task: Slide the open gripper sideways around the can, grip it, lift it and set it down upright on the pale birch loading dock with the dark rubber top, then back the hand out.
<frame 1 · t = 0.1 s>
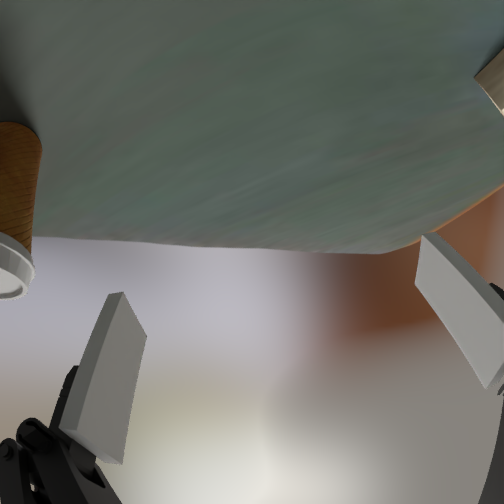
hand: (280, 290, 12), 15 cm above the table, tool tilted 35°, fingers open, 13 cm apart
disposable coffee cup: (12, 146, 18), on the table
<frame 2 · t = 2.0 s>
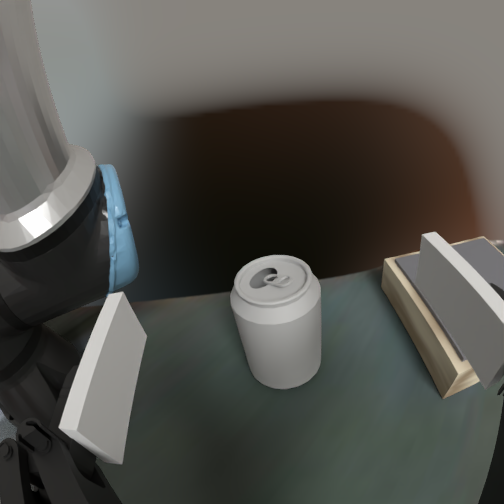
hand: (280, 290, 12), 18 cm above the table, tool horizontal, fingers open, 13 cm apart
dock: (467, 315, 29), on the table
can: (285, 364, 30), on the table
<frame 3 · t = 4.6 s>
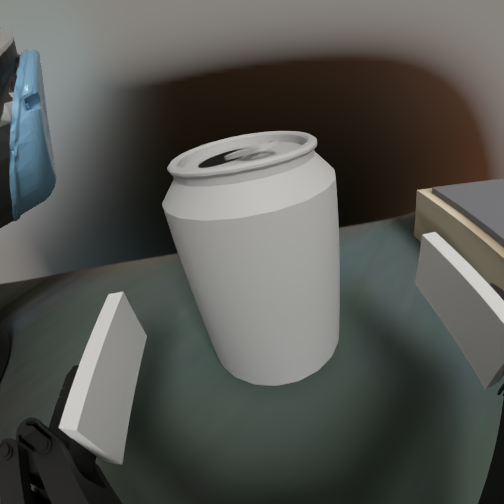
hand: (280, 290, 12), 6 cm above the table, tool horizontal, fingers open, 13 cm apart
can: (278, 345, 18), on the table
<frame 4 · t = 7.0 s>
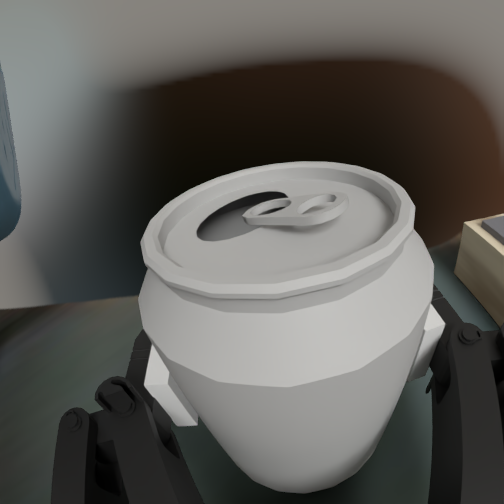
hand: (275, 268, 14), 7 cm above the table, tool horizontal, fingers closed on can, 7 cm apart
can: (304, 430, 13), on the table, touching gripper
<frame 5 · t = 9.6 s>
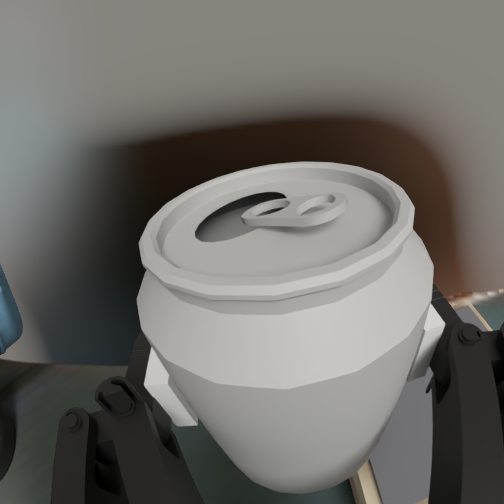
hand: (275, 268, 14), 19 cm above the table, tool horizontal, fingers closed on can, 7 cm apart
dock: (429, 417, 21), on the table
can: (303, 431, 13), point 12 cm above the table, touching gripper
when the fingers open (13 cm above the table, at t = 12.5 s): can drops 1 cm, resting on dock.
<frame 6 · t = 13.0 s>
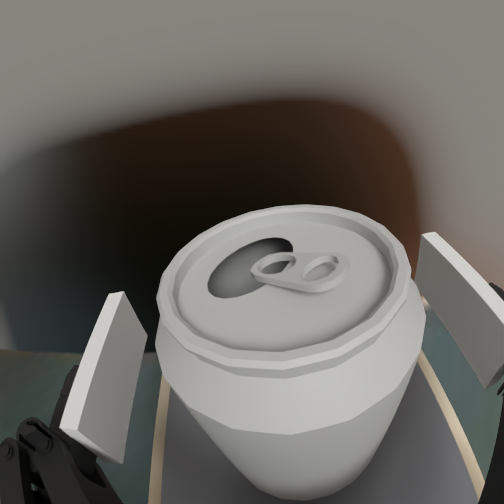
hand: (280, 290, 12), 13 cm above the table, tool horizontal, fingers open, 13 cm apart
dock: (306, 463, 16), on the table
can: (305, 441, 14), point 5 cm above the table, touching dock
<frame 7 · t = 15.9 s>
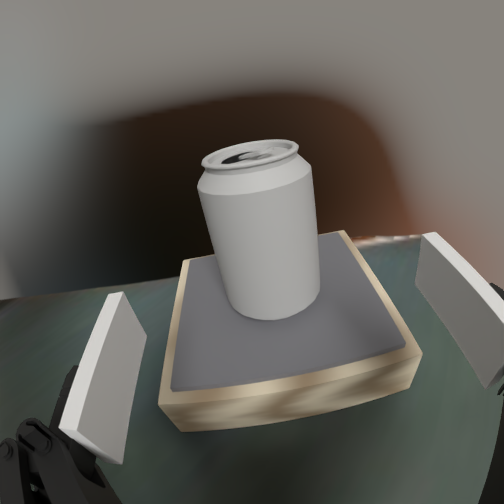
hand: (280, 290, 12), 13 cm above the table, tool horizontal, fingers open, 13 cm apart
dock: (281, 334, 27), on the table
can: (275, 296, 25), point 5 cm above the table, touching dock
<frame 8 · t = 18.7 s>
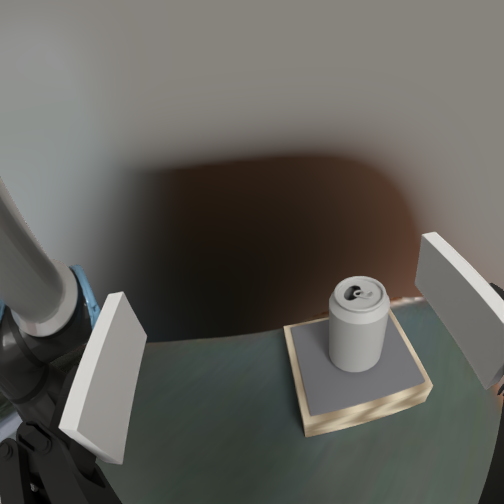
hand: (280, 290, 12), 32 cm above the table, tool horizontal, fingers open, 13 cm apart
dock: (351, 373, 42), on the table
can: (354, 355, 39), point 5 cm above the table, touching dock
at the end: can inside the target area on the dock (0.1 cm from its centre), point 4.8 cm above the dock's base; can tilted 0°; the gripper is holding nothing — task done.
